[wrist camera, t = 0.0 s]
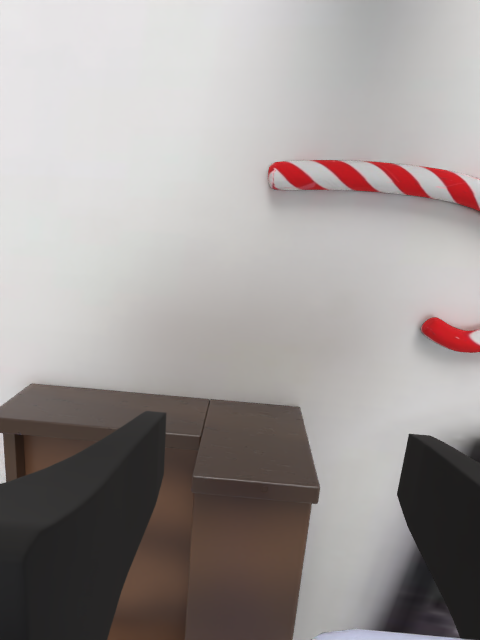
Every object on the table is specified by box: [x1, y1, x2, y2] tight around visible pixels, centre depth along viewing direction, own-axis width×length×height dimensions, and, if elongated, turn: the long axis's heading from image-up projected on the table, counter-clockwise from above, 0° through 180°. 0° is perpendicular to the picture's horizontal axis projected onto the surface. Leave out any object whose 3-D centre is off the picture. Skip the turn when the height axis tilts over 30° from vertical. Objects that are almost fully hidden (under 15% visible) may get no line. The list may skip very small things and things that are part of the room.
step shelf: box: [0, 384, 320, 640], centre depth 21 cm, size 17×15×7 cm
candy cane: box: [268, 160, 480, 353], centre depth 20 cm, size 8×1×15 cm
